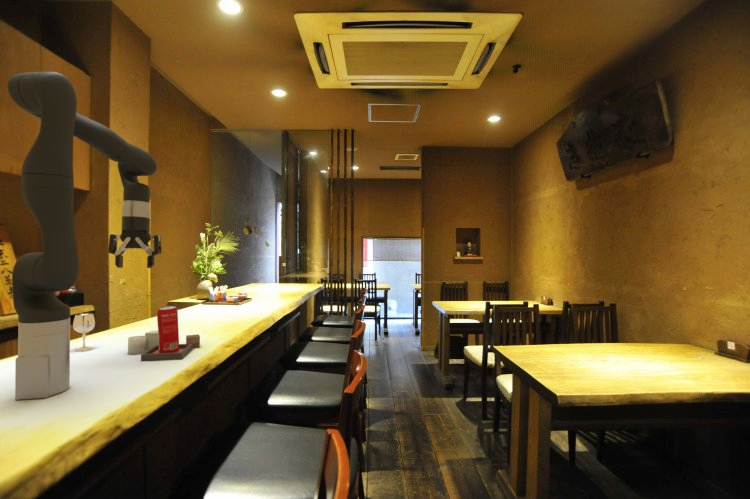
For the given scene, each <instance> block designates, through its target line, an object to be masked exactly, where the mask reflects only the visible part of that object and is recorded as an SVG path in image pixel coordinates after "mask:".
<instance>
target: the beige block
mask: <svg viewBox="0 0 750 499" xmlns="http://www.w3.org/2000/svg"><path fill="white" fill-rule="evenodd" d="M127 340H128V341H127V355H141V354H143V353H144V352H146V336H145V335H133V336H129V337H127Z"/></svg>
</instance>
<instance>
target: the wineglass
mask: <svg viewBox="0 0 750 499" xmlns="http://www.w3.org/2000/svg"><path fill="white" fill-rule="evenodd" d="M72 324H73V325H72V328H73V330H74V331H75V332H77V333H80V334H82V336H81V337H82V346H81V347H79V348H76V349H75V352H87V351H92V349H93V348H92V347H90V346H89V347H88V346H86V337H87V334H86V333H89V332H91V331H92V330H94V328H95V325H96V321H95V316H94V313H93V312H85V313H77V314H75V316H74V318H73V322H72Z"/></svg>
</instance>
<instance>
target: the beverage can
mask: <svg viewBox="0 0 750 499" xmlns="http://www.w3.org/2000/svg"><path fill="white" fill-rule="evenodd" d="M156 317H157V319H156V320H157V321H156V322H157V330H158V341H159V353H177V352H178V351H179V344H180V335H179V331H180V330H179V314H178V309H177V306H176V305H166V306H161V307H158V308H157V312H156Z"/></svg>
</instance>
